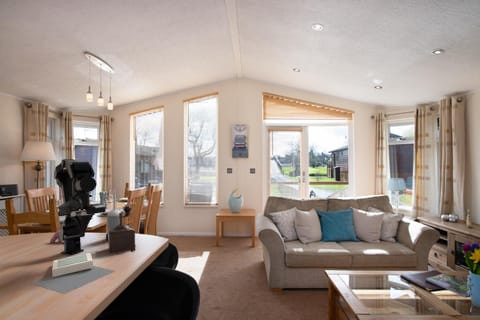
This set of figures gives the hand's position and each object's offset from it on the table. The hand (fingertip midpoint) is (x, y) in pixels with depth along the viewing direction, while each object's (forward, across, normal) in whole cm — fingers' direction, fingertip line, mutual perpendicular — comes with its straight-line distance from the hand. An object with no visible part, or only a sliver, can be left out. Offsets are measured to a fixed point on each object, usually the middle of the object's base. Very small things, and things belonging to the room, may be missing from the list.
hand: (82, 233), depth 107 cm
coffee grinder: (+11, 0, +20) cm, 22 cm away
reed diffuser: (+9, -14, +30) cm, 34 cm away
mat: (+13, +9, -12) cm, 20 cm away
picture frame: (+10, +6, -10) cm, 16 cm away
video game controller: (+7, -34, +18) cm, 39 cm away
